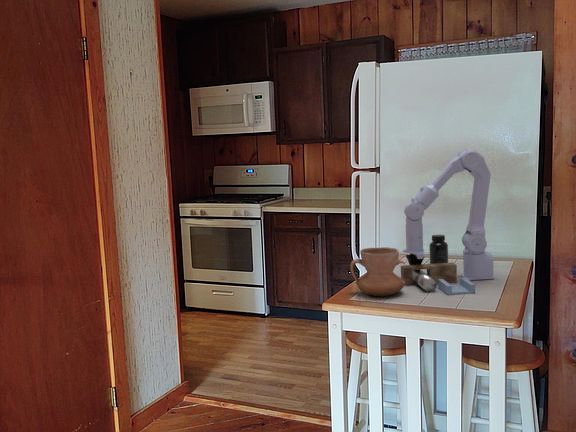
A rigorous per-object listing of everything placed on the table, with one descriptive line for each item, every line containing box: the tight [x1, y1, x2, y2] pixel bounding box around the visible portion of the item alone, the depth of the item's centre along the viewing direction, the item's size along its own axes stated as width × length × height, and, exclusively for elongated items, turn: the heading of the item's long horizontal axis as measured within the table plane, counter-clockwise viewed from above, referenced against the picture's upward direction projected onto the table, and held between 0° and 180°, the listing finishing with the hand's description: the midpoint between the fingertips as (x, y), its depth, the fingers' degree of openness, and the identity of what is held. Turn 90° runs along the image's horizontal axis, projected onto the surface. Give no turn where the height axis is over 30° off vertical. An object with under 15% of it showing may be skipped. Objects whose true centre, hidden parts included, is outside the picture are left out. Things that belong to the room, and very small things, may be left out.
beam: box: [400, 262, 458, 287], centre depth 186 cm, size 18×4×6 cm, turn 93°
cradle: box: [437, 277, 476, 296], centre depth 175 cm, size 9×9×3 cm
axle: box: [413, 269, 438, 293], centre depth 182 cm, size 4×16×4 cm, turn 2°
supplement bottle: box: [428, 234, 449, 264], centre depth 209 cm, size 7×7×12 cm
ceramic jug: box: [350, 246, 407, 297], centre depth 176 cm, size 18×14×14 cm
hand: (415, 275), depth 192 cm, fingers closed
